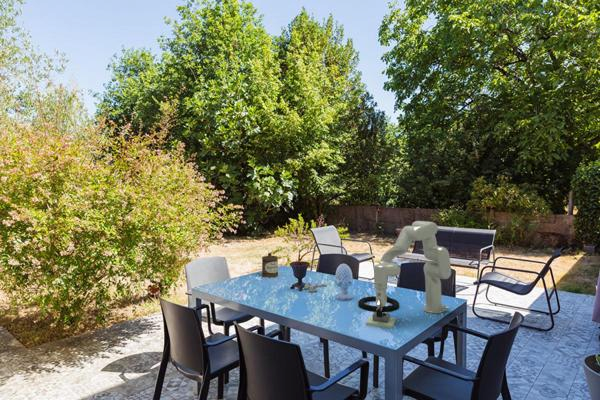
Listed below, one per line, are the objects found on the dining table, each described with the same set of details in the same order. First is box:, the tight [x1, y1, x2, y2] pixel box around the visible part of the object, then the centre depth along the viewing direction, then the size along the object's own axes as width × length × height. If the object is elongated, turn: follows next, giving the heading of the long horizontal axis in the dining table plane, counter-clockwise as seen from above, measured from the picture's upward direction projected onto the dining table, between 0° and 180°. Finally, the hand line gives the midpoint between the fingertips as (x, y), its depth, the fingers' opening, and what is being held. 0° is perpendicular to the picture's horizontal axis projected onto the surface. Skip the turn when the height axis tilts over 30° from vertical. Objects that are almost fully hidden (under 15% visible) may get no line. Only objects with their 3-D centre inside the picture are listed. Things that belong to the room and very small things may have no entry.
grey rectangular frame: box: [372, 311, 391, 323], centre depth 221 cm, size 9×6×4 cm, turn 68°
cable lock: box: [357, 295, 400, 313], centre depth 255 cm, size 28×4×30 cm
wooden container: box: [261, 252, 279, 279], centre depth 353 cm, size 15×15×22 cm
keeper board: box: [365, 312, 397, 329], centre depth 221 cm, size 15×14×6 cm
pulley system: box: [304, 282, 328, 293], centre depth 305 cm, size 27×5×15 cm
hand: (381, 314), depth 221 cm, fingers open, 9 cm apart
